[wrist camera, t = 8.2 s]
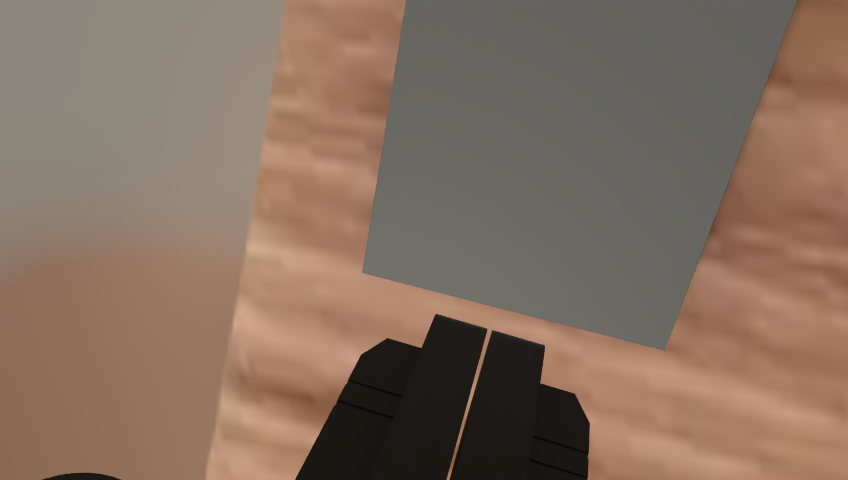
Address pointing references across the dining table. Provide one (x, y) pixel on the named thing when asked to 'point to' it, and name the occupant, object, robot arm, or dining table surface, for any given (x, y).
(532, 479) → the robot arm
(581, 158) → the hole board
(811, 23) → the dining table surface
